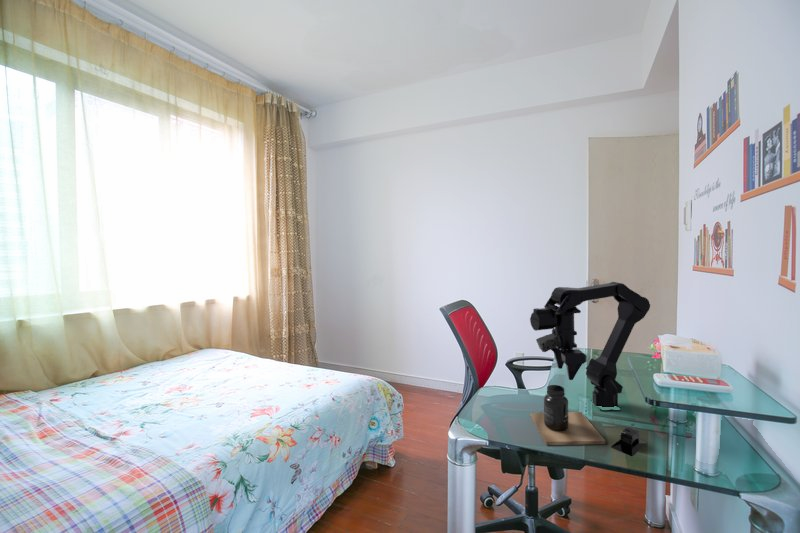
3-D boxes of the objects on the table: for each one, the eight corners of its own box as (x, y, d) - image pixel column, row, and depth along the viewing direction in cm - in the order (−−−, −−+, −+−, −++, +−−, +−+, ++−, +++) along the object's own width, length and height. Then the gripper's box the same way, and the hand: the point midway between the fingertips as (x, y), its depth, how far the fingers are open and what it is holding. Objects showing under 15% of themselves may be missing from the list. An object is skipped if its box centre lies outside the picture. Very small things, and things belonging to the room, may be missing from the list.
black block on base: (627, 433, 109) (627, 418, 108) (655, 444, 103) (655, 429, 102) (604, 449, 102) (604, 434, 101) (633, 462, 96) (633, 446, 95)
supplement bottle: (572, 432, 108) (571, 393, 107) (547, 432, 109) (546, 393, 108) (564, 419, 115) (563, 382, 114) (541, 419, 116) (540, 383, 115)
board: (581, 414, 119) (581, 411, 119) (605, 443, 103) (605, 440, 103) (530, 416, 121) (530, 413, 120) (546, 445, 105) (546, 441, 105)
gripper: (530, 320, 128) (531, 364, 130) (548, 337, 110) (549, 387, 112) (563, 319, 128) (564, 362, 129) (587, 335, 109) (587, 386, 111)
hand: (565, 373), depth 120 cm, fingers open, 9 cm apart
